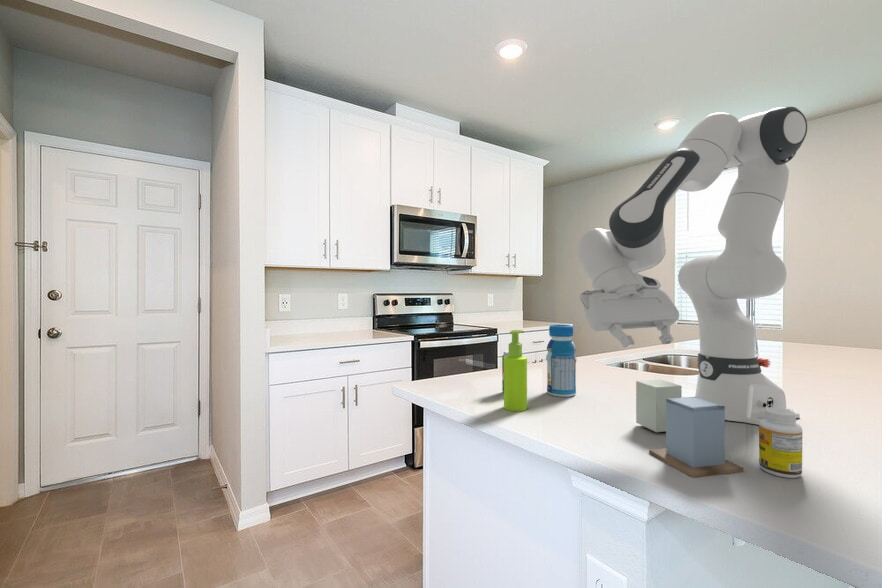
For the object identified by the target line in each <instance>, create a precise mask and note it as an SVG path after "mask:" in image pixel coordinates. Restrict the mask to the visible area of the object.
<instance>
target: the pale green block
mask: <svg viewBox="0 0 882 588" xmlns="http://www.w3.org/2000/svg"><path fill="white" fill-rule="evenodd" d="M682 388H683V387H682V385H681V384H677V383H673V382H670V381H667V380H664V379H646V380H645V379H644V380H636V381H635V392H636V393H635V396H636V397H635V413H636V414H635V420H636V421H635V423H636V424H638V425H640V426H642V427H644V428H647V430H648V429H649V430H651V431H653V432H655V433H661V432H666V399H669V398H683V396H682V391H683V390H682Z"/></svg>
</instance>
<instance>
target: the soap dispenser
mask: <svg viewBox="0 0 882 588" xmlns="http://www.w3.org/2000/svg"><path fill="white" fill-rule="evenodd" d="M524 333H525V331H524V330H521V329H519V330H518V329H514V330H511V331H509V335H511V342H509V343H508V352H509V356H505V357H504V393H503V409H504V410H507V411H510V412H524V411H526V410H528V359H527V357H526V356H523V344H522V343H520V342H519V334H524Z"/></svg>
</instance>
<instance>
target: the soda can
mask: <svg viewBox="0 0 882 588" xmlns="http://www.w3.org/2000/svg"><path fill="white" fill-rule="evenodd" d="M505 356H509V351H504V352H503V354H502V357H501V359H502V361H501V368H502V370H501V372H502V373H501V374H502V375H501V376H502V379H501V381H502V382H501V383H502V384H501V385H502V387H501V389H502V393H503V394H504V357H505Z"/></svg>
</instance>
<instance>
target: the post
mask: <svg viewBox="0 0 882 588" xmlns="http://www.w3.org/2000/svg"><path fill="white" fill-rule="evenodd" d="M648 452H649V454H650V455H652V456H654V457H655V458H656V459H659V460H660V461H662V462H664V463H666V464H668V465H669V466H671V467H674V468H675V469H677V470H679V471H680V472H682V473H684V474H685V475H687V476H688V477H691V478H697V477H704V476H705V477H707V476H714V475H716V476H717V475H724V474H725V475H726V474H733V473H741V472H744V467H743V466H740V465H738V464H737V463H735V462H732V461H729V460H727V459H725V464H723V465H714V466H705V467H696V468H693V467H691V466H689V465H688V464H686V463H684V462H682V461H680V460H678V459H676V458H674V457H672V456H671V455H669V454H667V453H666V447H663V448H655V449H649V450H648Z"/></svg>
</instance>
